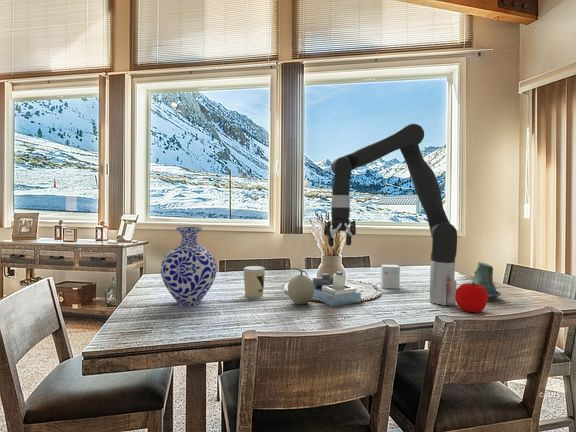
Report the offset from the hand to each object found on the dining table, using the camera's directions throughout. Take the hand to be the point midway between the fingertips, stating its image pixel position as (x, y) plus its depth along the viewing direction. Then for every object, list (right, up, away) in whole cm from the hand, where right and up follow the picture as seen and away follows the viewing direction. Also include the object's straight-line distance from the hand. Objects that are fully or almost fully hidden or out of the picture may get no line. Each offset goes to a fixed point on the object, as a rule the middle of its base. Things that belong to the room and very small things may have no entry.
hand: (339, 245), depth 156 cm
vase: (-61, -23, -4) cm, 65 cm away
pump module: (0, -19, +1) cm, 19 cm away
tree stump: (+61, -24, +11) cm, 66 cm away
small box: (+28, -22, +27) cm, 45 cm away
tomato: (+49, -24, -11) cm, 56 cm away
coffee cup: (-36, -22, +9) cm, 43 cm away
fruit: (-16, -23, -3) cm, 28 cm away
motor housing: (-2, -23, +4) cm, 23 cm away
